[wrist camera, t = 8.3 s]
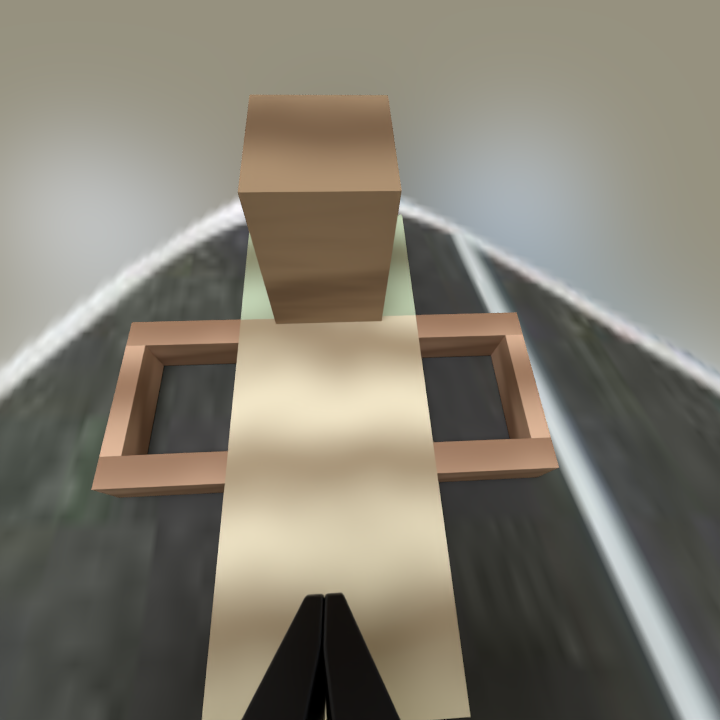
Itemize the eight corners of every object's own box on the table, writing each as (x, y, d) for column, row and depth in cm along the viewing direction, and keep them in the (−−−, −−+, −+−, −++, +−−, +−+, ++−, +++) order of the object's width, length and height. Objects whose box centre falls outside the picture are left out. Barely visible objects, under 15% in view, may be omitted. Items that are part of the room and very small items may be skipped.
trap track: (588, 686, 18) (623, 704, 15) (70, 726, 16) (27, 752, 14) (478, 240, 29) (489, 213, 27) (172, 245, 28) (157, 217, 26)
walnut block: (381, 321, 23) (401, 190, 15) (276, 324, 22) (237, 192, 14) (374, 241, 26) (387, 95, 17) (280, 243, 25) (249, 94, 17)
